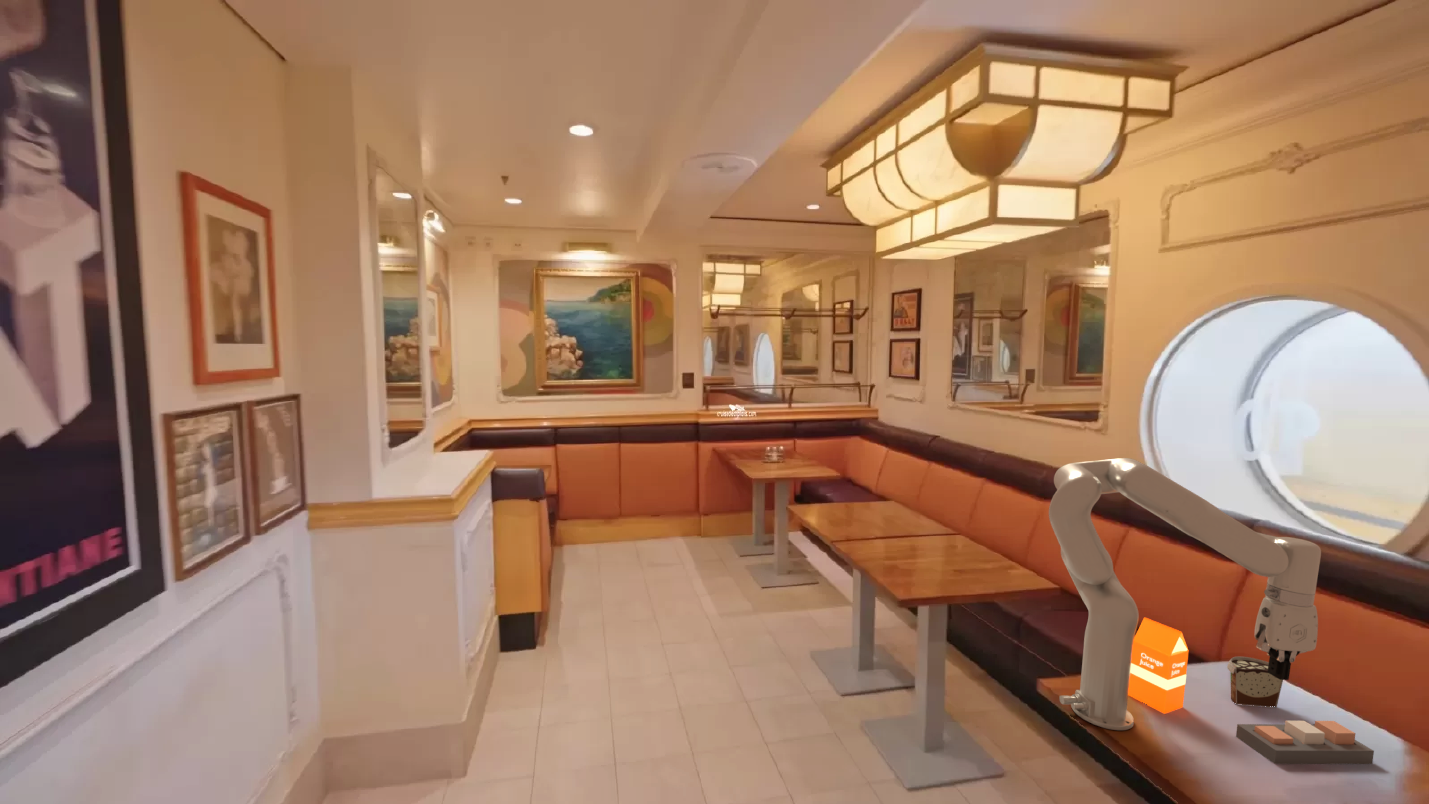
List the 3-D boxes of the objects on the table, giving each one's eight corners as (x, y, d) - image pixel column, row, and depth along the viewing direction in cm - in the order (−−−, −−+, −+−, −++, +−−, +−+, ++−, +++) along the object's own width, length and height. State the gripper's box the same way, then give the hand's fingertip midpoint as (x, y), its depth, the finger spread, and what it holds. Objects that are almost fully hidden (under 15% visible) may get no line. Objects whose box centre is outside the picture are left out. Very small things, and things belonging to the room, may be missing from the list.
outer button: (1334, 750, 131) (1336, 733, 130) (1313, 737, 135) (1315, 720, 135) (1353, 750, 131) (1355, 733, 130) (1331, 737, 135) (1333, 720, 135)
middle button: (1303, 750, 130) (1305, 733, 130) (1283, 737, 135) (1285, 720, 134) (1322, 750, 130) (1324, 733, 130) (1302, 737, 135) (1304, 720, 134)
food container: (1262, 694, 155) (1267, 657, 154) (1283, 708, 149) (1287, 670, 148) (1211, 690, 156) (1215, 653, 155) (1229, 704, 150) (1233, 665, 149)
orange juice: (1164, 714, 145) (1172, 634, 143) (1126, 694, 153) (1133, 619, 151) (1183, 707, 148) (1191, 629, 146) (1145, 688, 156) (1152, 614, 154)
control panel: (1274, 763, 128) (1275, 750, 127) (1235, 736, 137) (1237, 724, 136) (1372, 764, 129) (1374, 750, 128) (1327, 737, 138) (1329, 724, 137)
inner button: (1272, 756, 130) (1274, 738, 130) (1253, 742, 134) (1255, 725, 134) (1291, 756, 130) (1293, 738, 130) (1271, 742, 135) (1273, 726, 134)
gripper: (1273, 602, 125) (1261, 685, 127) (1341, 604, 126) (1328, 687, 128) (1240, 587, 133) (1229, 666, 134) (1304, 589, 134) (1293, 668, 135)
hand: (1277, 676), depth 131 cm, fingers closed
